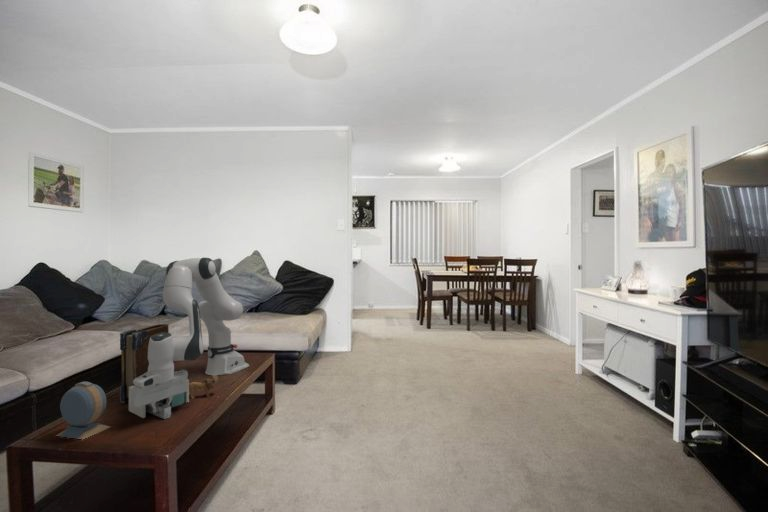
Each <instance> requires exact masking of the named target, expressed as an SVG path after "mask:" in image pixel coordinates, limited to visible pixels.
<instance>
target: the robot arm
mask: <svg viewBox="0 0 768 512" xmlns="http://www.w3.org/2000/svg"><path fill="white" fill-rule="evenodd" d="M165 274H166V277H165V281H164V284H163V291H162V301H163V303H164V304H165V306H167V307H168V308H170V309H171V310H174V311H177V312H180V313H184V314H185V315H187V316H188V324H189V325H188V326H189V327H188V328H189V335H188V336H173V334H172V333H170V332H168V333H158V334H155V335H153V336H151V337H150V340H149V345H148V361H149V366H148V372H146V373H144V374H143V375H141V376H139V377H137V378H135V379H134V380H133V384H134V385H135V386H134V387H133V388H132V391H131V398H130V403H131V405H132V406H133V407H136V408H137V407H140V406H143V405H147V404H150V406H151V407H152V408H153V413H156V412H159V407H157V406H155V405H154V404H156V401H159V400H162V399H165V398H167V401H166V400H165V403H164V404H166V405H169V406H170V403H171V401H172V399H173V396H175V395H178V394H181V393H184V392H187V391H188V389H189V385H188V377H189V372H188V370H185V369H180V370H176V371H175V363H174V362H177V361H189V362H194V361H197V359H199V358H200V357H201V356H203V353H204V349H205V348H204V347H205V346H204V341H203V334H202V333H203V332H202V322H201V321H203V323H204V324H205V327H206V330H207V335H208V346H207V363H206V369H205V374H206V375H208V376H211V375H217V376H223V375H231V374H235V373H237V372H239V371H242V370H244V369H247V368H249V367H250V364H249V363H247V362H246V361H245V358H244V356H243V354H241V353H239V352H238V351H236V350H235V349H238V344H232V331H231V329H230V328H229V327H228V326H226V325H225V323H224V321H226V322H227V321H234V320H239V319H240V318H241V317H242V315H243V313H244V307H243V304H242V303H241V302H240V301H237V300H236V299H234V298H233V297H232V296H231V295H229V293H228V292H227V291H226V290H225V289H224V286H223V285H222V283H221V280H220V278H219V275H218V273H217V265H216V262H215V261H214V260H213V259H211V258H209V257H202V258H201V257H196V258H195V257H194V258H187V259H182V260H175V261H172V262H170V263H169V264H168V265H167V266H166V270H165ZM193 282H194V284H195V286H196V288H197V290H198V293H199V294H200V296H201V298H202V299H203V300H202V301H200V302H199V303H198V301H197V300H196V299H194V297H193V293H192V292H193Z"/></svg>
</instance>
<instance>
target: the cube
mask: <svg viewBox="0 0 768 512" xmlns="http://www.w3.org/2000/svg"><path fill="white" fill-rule="evenodd" d="M166 401H167V398H166V400H165V402H166ZM183 403H184V404H185V402H184V393H181V394H178V395H175V396H173V399H172V401H171V403H170V406H171V408H175V407H177V406H181V405H184V404H183Z"/></svg>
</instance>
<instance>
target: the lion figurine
mask: <svg viewBox="0 0 768 512" xmlns="http://www.w3.org/2000/svg"><path fill="white" fill-rule="evenodd" d="M218 383H219V375H209V377H208V378H205V379H204V380H203V381H200V382H198V381H191V382H189V397H190V398H191V399H193V400H194V399H195V396H193V395H194V390H196V391H199V392H202V391H205V396H206V398H210V397H211V396H210V390H213V389H214V388H215V386H217V384H218Z"/></svg>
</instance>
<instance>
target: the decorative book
mask: <svg viewBox="0 0 768 512" xmlns="http://www.w3.org/2000/svg"><path fill="white" fill-rule="evenodd" d="M158 333H169V324H166V323H165V324H164V323H163V324H162V323H161V324H155V325H151V326H148V327H147V326H146V327H143V328H140V329H131V330H127V331H126V330H125V331H122V332H120V333H119V350H120V351H121V353H120V355H121V357H120V358H121V385H120V386H119V389H120V390H119V391H120V393H119V395H120V397H119V399H120V402H119V403H120V404H124V403H127V402H129V387H131V386H134V384H133V380H134V379H135V378H137V377H139V376H141V375H143V374H144V373H146V372H148V366H149V361H148V345H149V340H150V337H151V336H153V335H155V334H158Z"/></svg>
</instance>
